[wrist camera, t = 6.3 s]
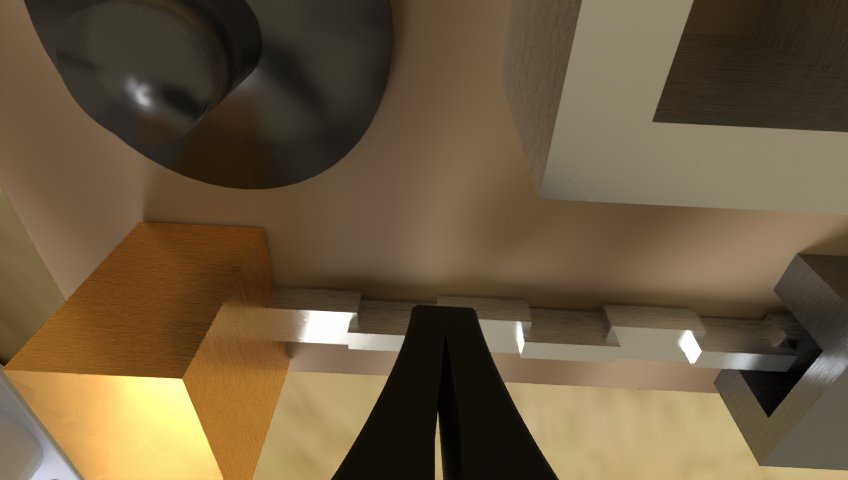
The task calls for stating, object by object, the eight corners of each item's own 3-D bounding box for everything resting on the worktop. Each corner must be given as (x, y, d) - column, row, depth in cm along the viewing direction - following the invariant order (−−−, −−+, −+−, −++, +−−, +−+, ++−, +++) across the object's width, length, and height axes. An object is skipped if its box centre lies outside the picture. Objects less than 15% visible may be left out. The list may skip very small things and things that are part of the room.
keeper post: (111, 171, 11) (5, 258, 8) (-43, -220, 7) (-335, -290, 4) (393, 185, 11) (377, 277, 8) (393, -198, 7) (364, -254, 4)
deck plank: (113, 341, 15) (98, 360, 15) (-335, -527, 6) (-430, -580, 5) (1033, 389, 15) (1060, 411, 15) (2077, -410, 6) (2280, -448, 5)
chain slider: (191, 357, 14) (108, 510, 11) (139, 221, 11) (1, 370, 8) (799, 389, 14) (917, 553, 11) (906, 261, 11) (1118, 428, 8)
